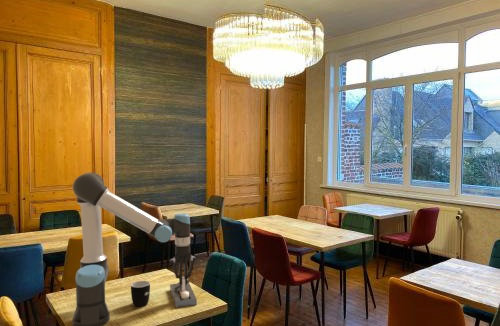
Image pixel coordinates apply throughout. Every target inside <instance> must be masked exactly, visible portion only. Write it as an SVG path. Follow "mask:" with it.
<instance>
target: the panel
mask: <svg viewBox="0 0 500 326" xmlns="http://www.w3.org/2000/svg"><path fill="white" fill-rule="evenodd" d="M175 284H176V283H173V284H171V283H170V284H169V290H170V294H171V297H172V300H173V304H174V306H175V308H183V307H190V306H197V305H198V299H197V297H196V295H195V293H194V291H193V288H192V286H191V284H190V282H189V283H187V285H185V290H186V291H188V292H189V299H185V300H181V295H180V291H181V290H182V287H180V288H178V289H177V290H175V288H174V285H175Z"/></svg>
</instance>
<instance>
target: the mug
mask: <svg viewBox="0 0 500 326" xmlns="http://www.w3.org/2000/svg"><path fill="white" fill-rule="evenodd" d="M150 293H151V282H150V281H148V280H139V281H135V282H132V283H131V284H130V295H131V301H132V304H133V306H134V307H136V308H142V307H145V306H148V303H149V301H150Z"/></svg>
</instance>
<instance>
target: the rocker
mask: <svg viewBox="0 0 500 326" xmlns="http://www.w3.org/2000/svg"><path fill="white" fill-rule="evenodd" d="M187 283H189V284H190V279H189V277H188V278H187ZM174 284H175V285H174V288H175V290H177V289H178V288H180V287H182V285H180V284H179V282H177V283H174Z"/></svg>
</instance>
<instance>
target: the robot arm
mask: <svg viewBox="0 0 500 326" xmlns="http://www.w3.org/2000/svg"><path fill="white" fill-rule="evenodd" d="M72 192H73V194H74V195H75V197H76V203H77V204H78V205H79V206H80V213H81V214H80V216H81V231H82V235H81V236H82V248H83V249H82V250H83V253H82V254H83V256H82V257H81V259H80V260H79V262H80V268H79V269H78V270H77V271H76V273H75V279H74V280H75V292H76V293H75V294H76V295H75V300H76V306H75V310H74V314H73V315H72V316H73V317H72V322H71V323H72V326H103V325H105V324H107V323H108V322H109V321H110V319H111V315H110V314H111V313H110V311H109V308H108V306H107V302H106V289H105V288H106V283H107V278H108V277H109V273H110V271H109V269H110V268H109V265H108V258H107V255H105V254H104V246H103V245H104V243H103V226H102V224H103V223H102V209H104V210H105V211H108V212H109V213H111V214H113V215H115V216H116V217H118V218H119V219H120V218H121V219H122V220H123V221H125V222H127V223H129V224H131V225H133V226H134V227H136V228H138V229H140V230H141V231H143V232H145V233H147V234H149V235H150V236H152V237H154V238H155V239H156V240H157V241H158V242H159V243H167V242H168V241H170V239H171V238H172V235H173V234H174V245H175V246H174V256H173V258H170V259H169V261H170V264H171V265H172V268H173V271H174V276H175V279H178V281H179V282H178V283H179V284H180V285H182V292H184V291H185V285H187V278H188V279H189V278H190V277H192V273H193V268H194V263H195V261H196V260H197V259H196V257H195V256H193V255H192V254H191V218H190V217H191V216H190V214H188V213H185V212H184V213H175V214H174V217H173V218H161V219H158V218H156V217H154V216H153V215H151V214H149V213H148V212H146V211H144V210H142V209H140V208H139V207H138V206H135V205H134V204H132V203H130V202H128V201H126V200H125V199H123V198H121V197H120V196H118V195H117V194H115V193H113V192H111V190H110V189H109V187H107V186H105V182H104V179H103V177H102V176H100V174H98V173H95V172H84V173H83V174H81V175H79V176H77V177H76V178H75V179H74V180H73V183H72ZM189 261H190V263H189ZM176 262H177V263H178V269H177V266H176ZM188 263H189V267H188ZM183 271H184V272H183ZM182 277H183V278H182Z"/></svg>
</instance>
